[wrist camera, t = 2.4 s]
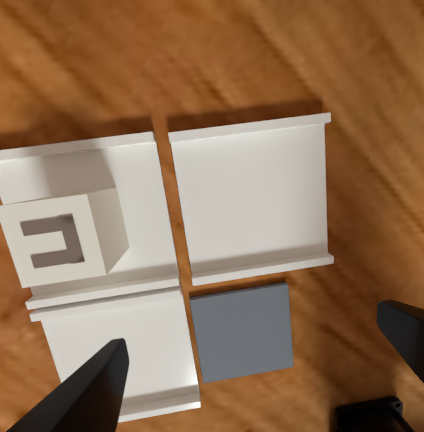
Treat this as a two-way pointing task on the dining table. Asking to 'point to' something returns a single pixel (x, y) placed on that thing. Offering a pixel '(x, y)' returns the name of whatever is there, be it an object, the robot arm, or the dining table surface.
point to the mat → (243, 331)
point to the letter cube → (65, 236)
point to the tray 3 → (253, 197)
